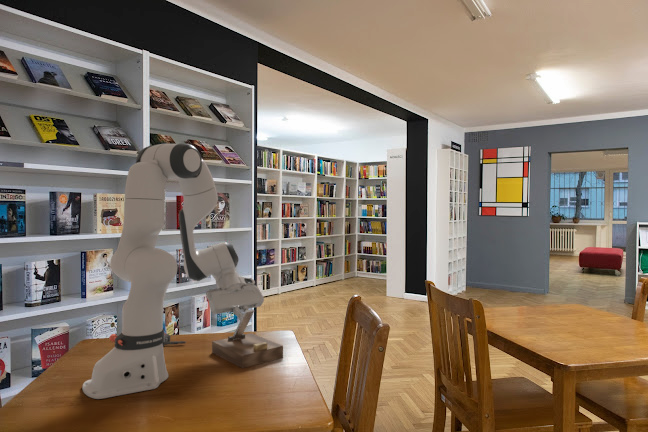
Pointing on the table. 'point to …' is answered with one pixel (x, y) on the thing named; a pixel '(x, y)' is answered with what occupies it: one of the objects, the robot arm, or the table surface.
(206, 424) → the table surface
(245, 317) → the strap
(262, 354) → the base
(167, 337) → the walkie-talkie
